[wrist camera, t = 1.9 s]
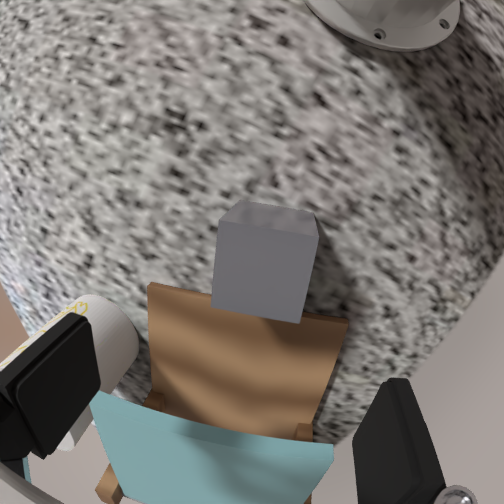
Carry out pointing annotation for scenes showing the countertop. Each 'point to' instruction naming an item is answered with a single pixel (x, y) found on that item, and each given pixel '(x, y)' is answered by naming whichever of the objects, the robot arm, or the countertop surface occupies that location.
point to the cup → (96, 350)
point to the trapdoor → (202, 459)
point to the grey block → (264, 260)
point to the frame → (234, 368)
